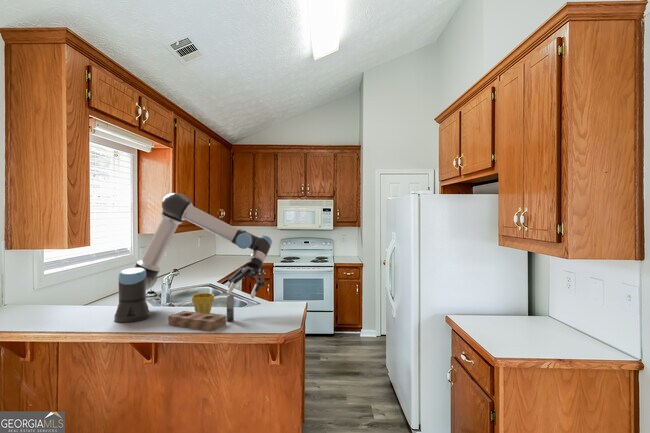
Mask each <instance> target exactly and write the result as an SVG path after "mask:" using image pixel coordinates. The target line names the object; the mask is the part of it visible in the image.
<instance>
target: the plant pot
mask: <svg viewBox="0 0 650 433" xmlns="http://www.w3.org/2000/svg"><path fill="white" fill-rule="evenodd" d="M191 300H192V302H191V303H192V304H193V306H194V312H198V313H206V314H211V312H212V311H211V310H212V306H213V303H214V301H215V294H214V293H210V292H202V293H201V292H200V293H195V294H193V295H192V297H191Z"/></svg>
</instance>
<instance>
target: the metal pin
mask: <svg viewBox="0 0 650 433" xmlns="http://www.w3.org/2000/svg"><path fill="white" fill-rule="evenodd" d="M234 303H235V294H231V295H228V294H227V295H226V323H227V322H229V323H231V322H234V321H235V319H234V318H235V317H234V316H235V314H234V313H235V304H234Z"/></svg>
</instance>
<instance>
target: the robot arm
mask: <svg viewBox="0 0 650 433" xmlns="http://www.w3.org/2000/svg"><path fill="white" fill-rule="evenodd" d="M161 208H162V211H161V212H160V215H161V220H160V223H159V224H158V226H157V228H156V231H155V232H154V234H153V236H152V238H151V241H150V242H149V245H148V247H147V248H146V250H145V253H144V255H143V257H142V258H141V259H140V260H138V261H137V262H136V263H135V266H134V267H130V268H125V269H123V270H121V271H120V272H119V274H118V280H117V281H118V305H117V308H116V310H115V311H116V312H115V313H114V320H113V321H114V322H117V323H133V322H140V321H143V320H147V319H149V318H150V317H151V315H150V314H151V311H150V310H149V305H148V302H147V290H149V289H151V288H153V287H154V285H155V284H156V282H157V281H158V280H157V279H158V275H159V273H160V271H161V269H160V264H161V262H162V260H163V257H164V255H165V253H166V251H167V249H168V247H169V245H170V243H171V241H172V239H173V237H174V235H175V232H176V231H177V229H178V227H179V225H180V224H183V223H184V221H187V222H189V223H191V224H194V225H195V226H198V227H200V228H202V229H203V230H205V231H207V232H209V233H212V234H214V235H215V236H217V237H220V238H222V240H223V239H224V240H226V241H228V242H230V243H231V244H233V245H235V246H237V247H238V249H239V248H240V249H241V250H244V249H245V250H246V249H250V250H252V252H251V255H250V257H249V259H248V261H247V262H246V266H245V267H243V266H240V267H239V269H237V270H236V271H235V272H234V273H233V275H231V276H230V277H229V278H228V279H227V281H228V282H229V285H228V287H227V288H228V289H227V291H226V294H227V295H232V293H233V291H234V289H235V287H236V284H237V283H239V282H240V281H242V280H243V279H245V278H247V277H248V278H254V279H255V281H256V283H255V284H254V285H253V286H254V287H253V288H252V291H251V293H250V297H251V299H254V298H255V296H256V294H257V293H258V292H259V291H260V288H261V287H264V286H266V284H265V272H266V271H265V269H264V268H263V267H262V266H263V264H264V262H265V260H266V258H267V256H268V253H269V252H270V250H271V248H272V245H273V240H272V238H270V237H269V236H267V235H264V234H263V235H260V236H256V235H254V234H252V233H250V232H249V231H247V230H244V229H242V228H240V229H238V228H237V227H235V226H233V225H231V224H228V223H227V222H225V221H224V220H221V219H219V218H217V217H215V216H214V215H211V214H209V213H207V212H206V211H204V210H201V209H199V208H197V207H195V206H194V205H193V203H192V201H191V199H190V198H189V197H188V196H187V195H185V194H182V193H178V192H170V193H168V194H167V195H165V196H164V197H163V198H162V201H161ZM258 274H259V275H260V278H259V276H258ZM259 279H260V280H259Z"/></svg>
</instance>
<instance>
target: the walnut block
mask: <svg viewBox="0 0 650 433" xmlns="http://www.w3.org/2000/svg"><path fill="white" fill-rule="evenodd" d="M167 318H168V319H167V320H168V322H167V323H168V326H174V327H180V328H181V327H182V328H187V329H193V330H202V331H207V332H208V331H209V332H212V331H215V330H218V329H220V328H222V327H224V326H226V325H227V315H221V314H212V313H210V314H206V313H198V312H195V311H189V310H182V311H180V312H179V311H178V312H176V313H173V314H171V315H168V316H167Z"/></svg>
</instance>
